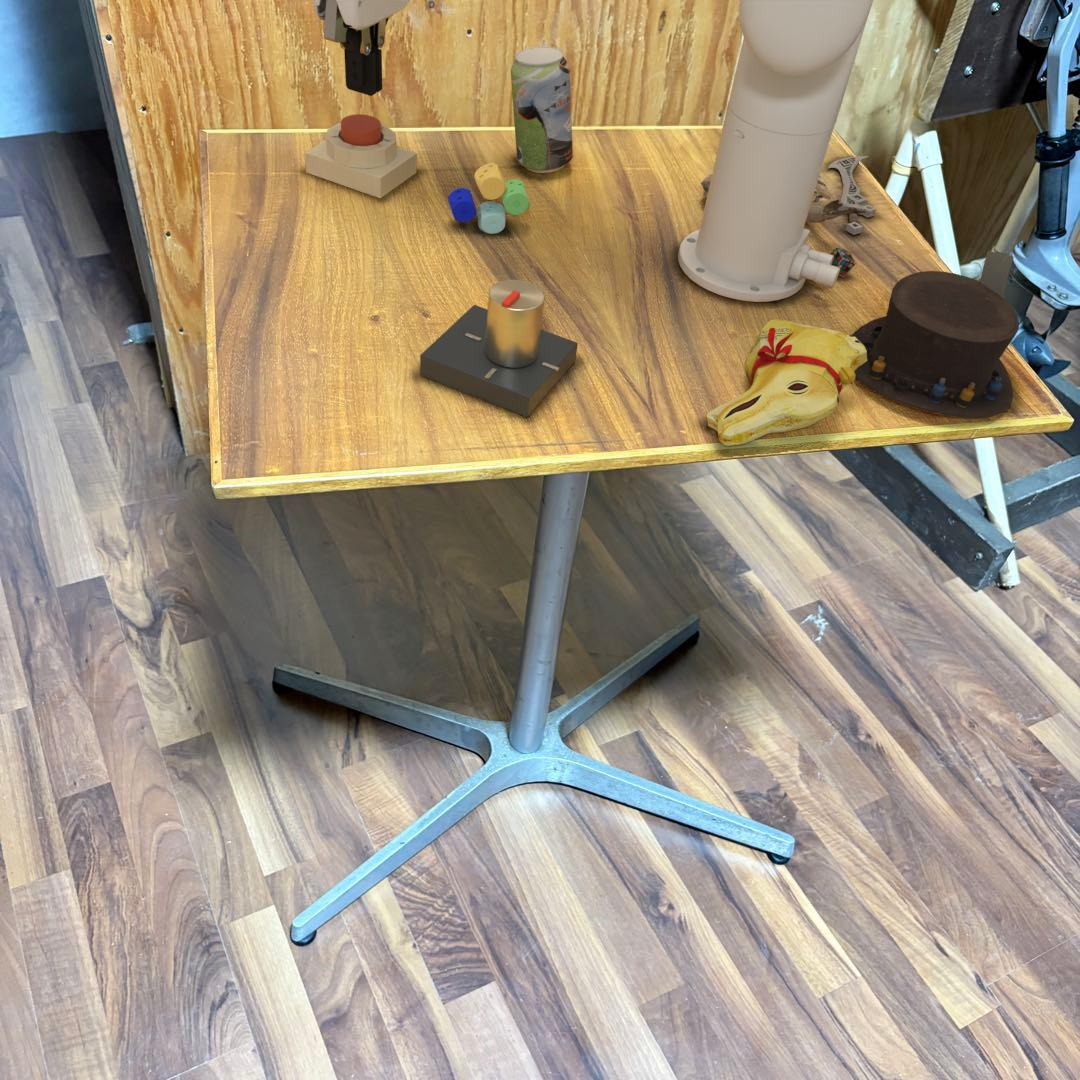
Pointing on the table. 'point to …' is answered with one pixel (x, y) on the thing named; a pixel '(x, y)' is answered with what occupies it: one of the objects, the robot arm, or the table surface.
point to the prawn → (822, 213)
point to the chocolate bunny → (789, 381)
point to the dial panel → (495, 365)
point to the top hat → (944, 343)
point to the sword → (852, 193)
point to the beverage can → (542, 109)
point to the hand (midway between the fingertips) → (364, 89)
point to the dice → (490, 188)
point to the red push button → (360, 130)
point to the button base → (362, 162)
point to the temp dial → (514, 323)
